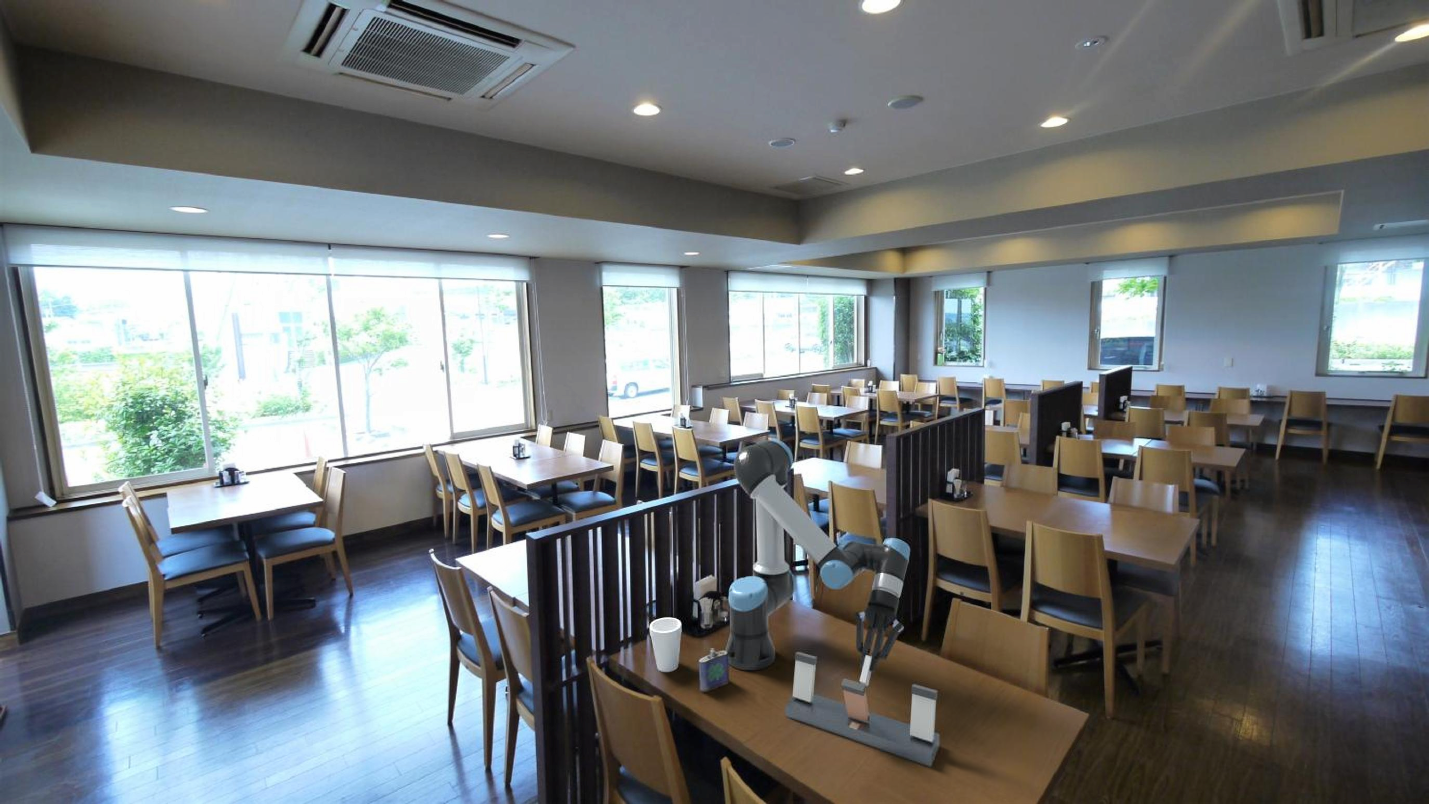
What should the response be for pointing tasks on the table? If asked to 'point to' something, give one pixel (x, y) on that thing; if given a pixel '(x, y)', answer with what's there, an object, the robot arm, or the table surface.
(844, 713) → the switch panel
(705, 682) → the flask
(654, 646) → the foam cup
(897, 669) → the table surface
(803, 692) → the lever left
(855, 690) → the lever middle
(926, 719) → the lever right
